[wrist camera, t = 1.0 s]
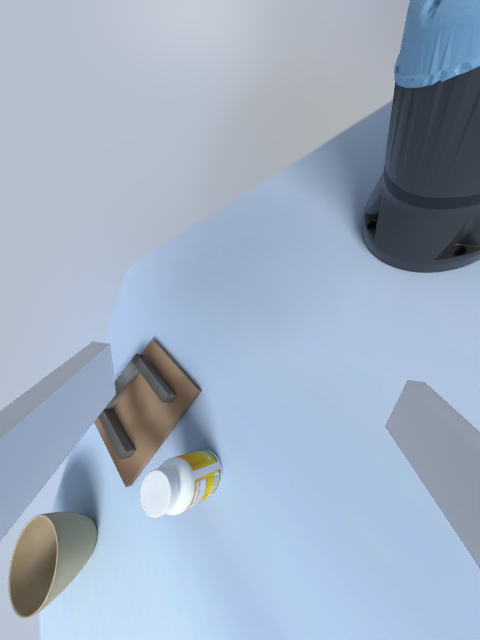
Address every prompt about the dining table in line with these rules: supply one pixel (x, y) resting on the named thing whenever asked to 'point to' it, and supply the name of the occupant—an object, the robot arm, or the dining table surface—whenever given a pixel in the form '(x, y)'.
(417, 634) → the dining table surface
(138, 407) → the u rest
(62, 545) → the beige bowl
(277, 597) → the dining table surface
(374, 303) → the dining table surface
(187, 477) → the supplement bottle
